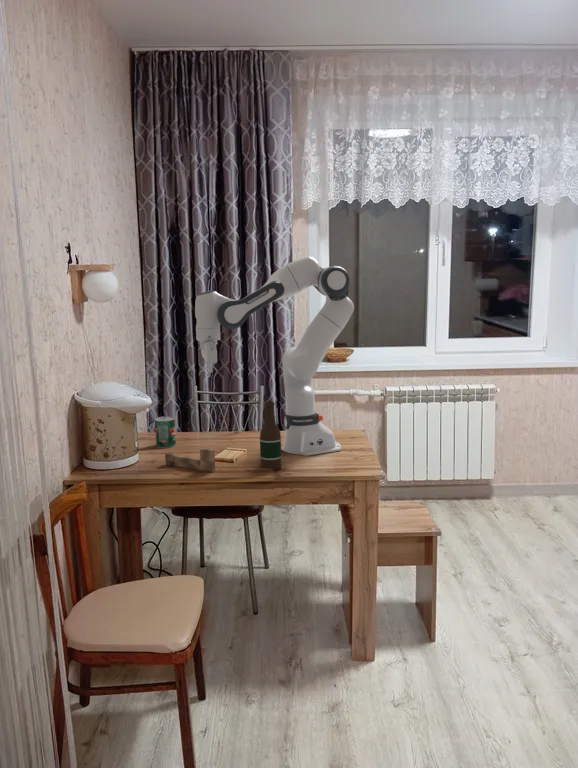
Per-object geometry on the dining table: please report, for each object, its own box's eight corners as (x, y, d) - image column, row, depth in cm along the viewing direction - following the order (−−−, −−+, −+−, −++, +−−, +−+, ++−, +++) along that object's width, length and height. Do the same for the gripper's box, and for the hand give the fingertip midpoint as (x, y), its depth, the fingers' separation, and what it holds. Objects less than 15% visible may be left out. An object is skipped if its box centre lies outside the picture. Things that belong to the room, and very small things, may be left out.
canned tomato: (178, 446, 270) (177, 419, 268) (159, 449, 267) (157, 421, 265) (172, 441, 277) (171, 415, 275) (153, 444, 274) (152, 417, 272)
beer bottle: (256, 467, 240) (254, 400, 236) (277, 464, 243) (275, 398, 239) (264, 473, 233) (262, 405, 229) (285, 470, 236) (284, 402, 232)
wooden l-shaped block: (225, 465, 238) (224, 444, 237) (211, 472, 231) (210, 451, 229) (179, 458, 248) (177, 438, 247) (163, 465, 240) (162, 444, 239)
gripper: (220, 337, 243) (221, 376, 245) (213, 332, 262) (215, 367, 265) (202, 338, 241) (204, 377, 244) (197, 333, 261) (198, 368, 264)
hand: (209, 372), depth 255 cm, fingers closed
